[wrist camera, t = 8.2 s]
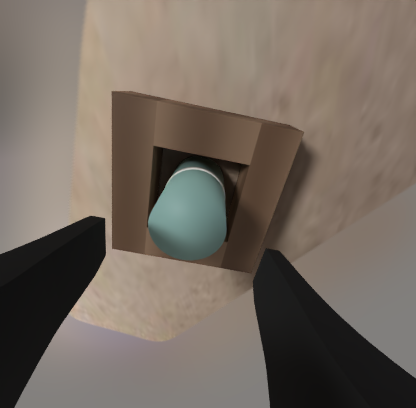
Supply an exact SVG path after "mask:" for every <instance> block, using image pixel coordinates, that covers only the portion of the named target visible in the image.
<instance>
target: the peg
mask: <svg viewBox="0 0 416 408" xmlns="http://www.w3.org/2000/svg"><path fill="white" fill-rule="evenodd" d="M148 229H149V233H150V236H151V238H152V240H153V242H154V243H155V245H156V246H157V247H158V248H159V249H160V250H161V251H163V252H164V253H166V254H167V255H169V256H171V257H174V258H177V259H181V260H199V259H203V258H206V257H208V256H210V255H212V254H213V253H215V252H216V251H217V250H218V249H219V248H220V247H221V245H222V244H223V242H224V240H225V237H226V229H227V228H226V209H225V190H224V177H223V173H222V171H221V169H220V167H219V166H218V165H217V164H216V163H215V162H214V161H213V160H211V159H209V158H206V157H202V156H193V157H189V158H187V159H185V160H183V161H182V162H181V163H180V164H179V165H178V166H177V168H176V169H175V171H174V173H173V175H172V176H171V178H170V179H169V181H168V182H167V184H166V187H165V189H164V190H163V192H162V194H161V196H160V197H159V199H158V201H157V203H156V204H155V206H154V208H153V210H152V211H151V213H150V216H149V220H148Z"/></svg>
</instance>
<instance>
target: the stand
mask: <svg viewBox="0 0 416 408" xmlns="http://www.w3.org/2000/svg"><path fill="white" fill-rule="evenodd" d="M303 134H304V132H303V131H301V130H298V129H296V128H294V127H292V126H290V125H286V124H281V123H277V122H272V121H267V120H263V119H258V118H253V117H249V116H244V115H239V114H235V113H230V112H225V111H221V110H216V109H211V108H207V107H202V106H197V105H192V104H188V103H183V102H178V101H174V100H169V99H164V98H160V97H155V96H150V95H146V94H141V93H136V92H132V91H112V249H117V250H123V251H129V252H134V253H140V254H145V255H151V256H157V257H162V258H168V259H174V260H179V261H185V262H191V263H196V264H202V265H207V266H213V267H219V268H224V269H230V270H236V271H241V272H247V273H251V272H252V270H253V267H254V264H255V262H256V259H257V256H258V254H259V251H260V248H261V246H262V243H263V240H264V238H265V235H266V232H267V230H268V227H269V225H270V222H271V219H272V217H273V214H274V211H275V209H276V206H277V203H278V201H279V198H280V195H281V193H282V190H283V187H284V185H285V182H286V179H287V177H288V174H289V171H290V169H291V166H292V163H293V161H294V158H295V155H296V153H297V150H298V147H299V145H300V142H301V140H302V137H303ZM163 148H168V149H173V150H177V151H182V152H187V153H192V154H197V155H202V156H207V157H212V158H217V159H222V160H227V161H232V162H237V163H242V165H241V169H240V173H239V176H238V180H237V184H236V187H235V191H234V195H233V198H232V202H231V206H230V210H229V213H228V217H227V221H226V228H227V229H226V237H225V240H224V242H223V244H222V245H221V247H220V248H219V249H218V250H217V251H216V252H215V253H213V254H212V255H210V256H208V257H206V258H203V259H199V260H181V259H177V258H174V257H171V256H169V255H167V254H166V253H164V252H163V251H161V250H160V249H159V248H158V247H157V246H156V245H155V243H154V242H153V240H152V238H151V236H150V233H149V229H148V220H149V216H150V213H151V211H152V210H153V208H154V206H155V204H156V203H157V201H158V192H159V182H160V172H161V163H162V153H163Z"/></svg>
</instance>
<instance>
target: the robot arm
mask: <svg viewBox="0 0 416 408" xmlns="http://www.w3.org/2000/svg"><path fill="white" fill-rule="evenodd" d="M105 256H106V240H105V218H100V217H95V216H89V217H87V218H84V219H82V220H80V221H77V222H75V223H73V224H71V225H69V226H66V227H64V228H62V229H60V230H58V231H55V232H53V233H51V234H49V235H47V236H45V237H42V238H40V239H37V240H35V241H32V242H30V243H28V244H25V245H23V246H20V247H18V248H15V249H13V250H11V251H8V252H5V253H3V254H0V408H14V407H15V405H16V403H17V401H18V399H19V397H20V395H21V394H22V392H23V390H24V388H25V386H26V384H27V383H28V381H29V379H30V377H31V375H32V373H33V372H34V370H35V368H36V366H37V364H38V362H39V361H40V359H41V357H42V355H43V354H44V352H45V350H46V348H47V347H48V345H49V343H50V342H51V340H52V338H53V336H54V334H55V333H56V331H57V330H58V328H59V327H60V325H61V324H62V322H63V321H64V319H65V318H66V317H67V315H68V314H69V312H70V311H71V309H72V308H73V307H74V305H75V304H76V302H77V301H78V299H79V298H80V297H81V295H82V294H83V292H84V291H85V289H86V288H87V287H88V285H89V284H90V282H91V281H92V279H93V278H94V276H95V275H96V273H97V271H98V269H99V267H100V265H101V263H102V261H103V259H104V258H105ZM253 291H254V304H255V309H256V315H257V320H258V325H259V330H260V335H261V341H262V345H263V351H264V356H265V363H266V369H267V380H268V389H269V400H270V408H416V378H414V377H413V376H412V375H410V374H409V373H408V372H406V371H405V370H404V369H402V368H401V367H400V366H398V365H397V364H396V363H394V362H393V361H392V360H391V359H389V358H388V357H387V356H386V355H384V354H383V353H382V352H381V351H379V350H378V349H377V348H376V347H374V346H373V345H372V344H371V343H369V342H368V341H367V340H366V339H365V338H364V337H362V336H361V335H360V334H359V333H358V332H357V331H356V330H355V329H353V328H352V327H351V326H350V325H349V324H348V323H347V322H346V321H344V319H342V318H341V317H340V316H339V315H338V314H337V313H336V312H335V311H334V310H333V309H332V308H331V307H330V306H329V305H328V304H327V303H326V302H325V301H324V300H323V299H322V298H321V297H320V296H319V295H318V294H317V293H316V292H315V290H314V289H312V287H311V286H310V285H309V284H308V283H307V282H306V281H305V279H304V278H303V277H302V276H301V275H300V274H299V273H298V272H297V270H295V268H294V267H293V266H292V265H291V263H290V262H289V261H288V260H287V259H286V258H285V257H284V256H283V254H282V253H281V252H280V251H278V250H272V249H267V248H266V249H265V252H264V254H263V257H262V259H261V262H260V264H259V267H258V269H257V272H256V275H255V277H254V280H253Z"/></svg>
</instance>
